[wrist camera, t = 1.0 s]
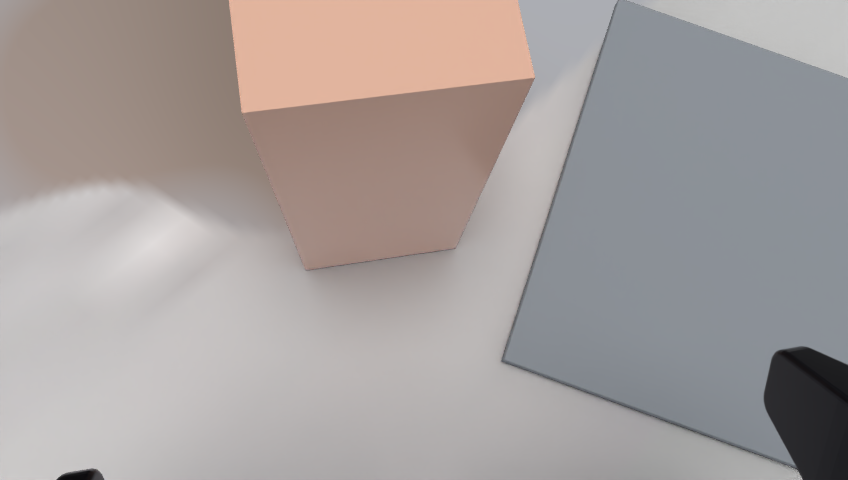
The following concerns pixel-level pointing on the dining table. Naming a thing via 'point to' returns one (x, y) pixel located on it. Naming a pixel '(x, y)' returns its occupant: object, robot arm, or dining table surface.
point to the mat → (692, 230)
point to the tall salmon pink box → (379, 116)
